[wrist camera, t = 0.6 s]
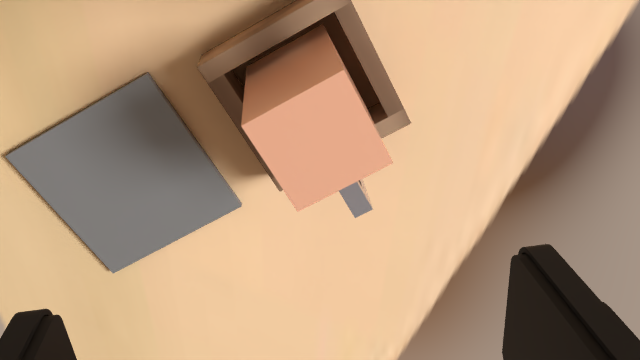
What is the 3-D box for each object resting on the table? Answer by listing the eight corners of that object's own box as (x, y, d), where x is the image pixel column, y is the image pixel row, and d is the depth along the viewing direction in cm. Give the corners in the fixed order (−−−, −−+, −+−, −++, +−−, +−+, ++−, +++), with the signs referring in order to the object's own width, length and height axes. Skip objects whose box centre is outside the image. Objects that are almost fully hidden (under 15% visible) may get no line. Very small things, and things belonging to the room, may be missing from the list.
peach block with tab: (322, 23, 37) (343, 69, 28) (379, 130, 41) (414, 203, 32) (246, 66, 38) (241, 126, 29) (308, 167, 42) (322, 249, 33)
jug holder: (336, -23, 36) (342, -17, 33) (401, 108, 41) (411, 123, 38) (201, 55, 38) (197, 67, 35) (278, 172, 42) (279, 191, 40)
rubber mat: (147, 72, 38) (146, 74, 37) (241, 203, 43) (241, 206, 43) (7, 153, 40) (5, 156, 39) (114, 269, 45) (113, 273, 44)
